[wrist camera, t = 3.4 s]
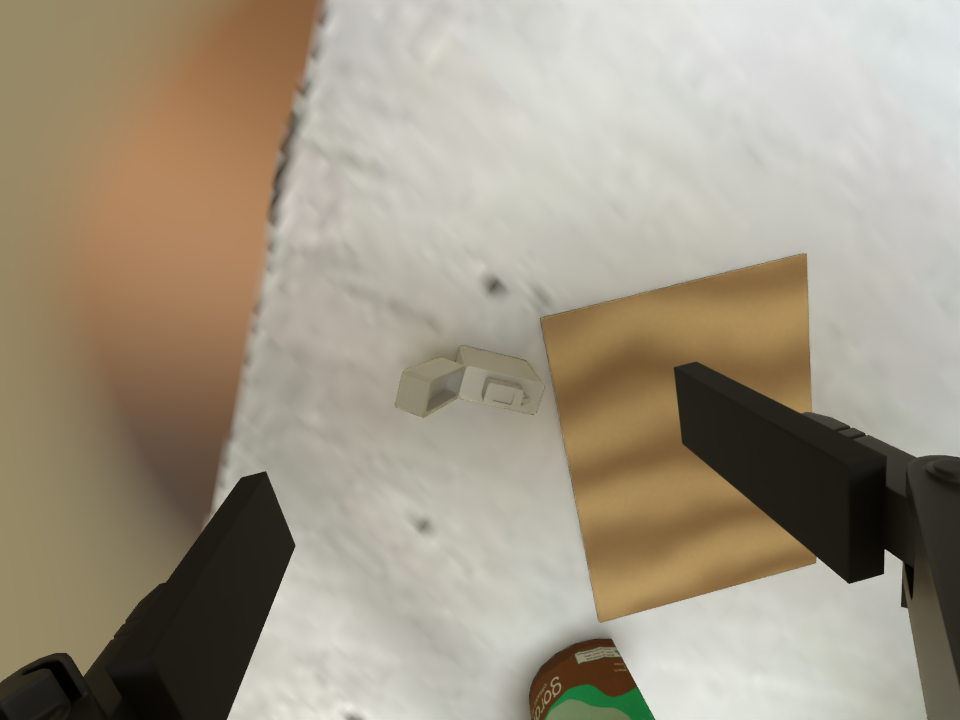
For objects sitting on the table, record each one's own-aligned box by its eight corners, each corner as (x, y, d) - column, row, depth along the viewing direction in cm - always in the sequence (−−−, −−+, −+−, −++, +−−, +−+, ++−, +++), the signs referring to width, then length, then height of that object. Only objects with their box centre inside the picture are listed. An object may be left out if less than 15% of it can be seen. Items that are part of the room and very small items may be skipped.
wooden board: (813, 560, 35) (816, 563, 34) (598, 619, 34) (599, 623, 34) (803, 253, 28) (807, 253, 28) (540, 318, 28) (541, 318, 27)
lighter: (528, 361, 28) (566, 410, 21) (520, 388, 29) (554, 447, 21) (408, 332, 27) (402, 373, 19) (401, 361, 27) (392, 413, 20)
